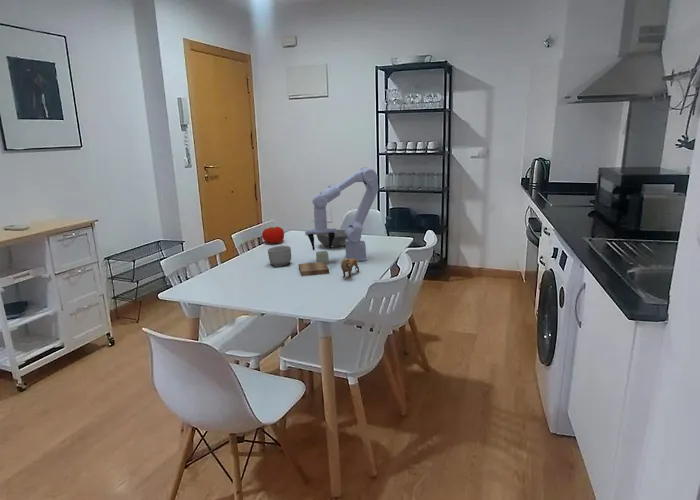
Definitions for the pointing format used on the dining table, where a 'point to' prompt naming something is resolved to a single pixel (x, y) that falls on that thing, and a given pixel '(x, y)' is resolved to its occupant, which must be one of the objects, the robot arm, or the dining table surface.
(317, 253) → the block
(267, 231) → the tomato
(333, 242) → the bowl
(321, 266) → the base
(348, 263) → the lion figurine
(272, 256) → the teacup
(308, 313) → the dining table surface
